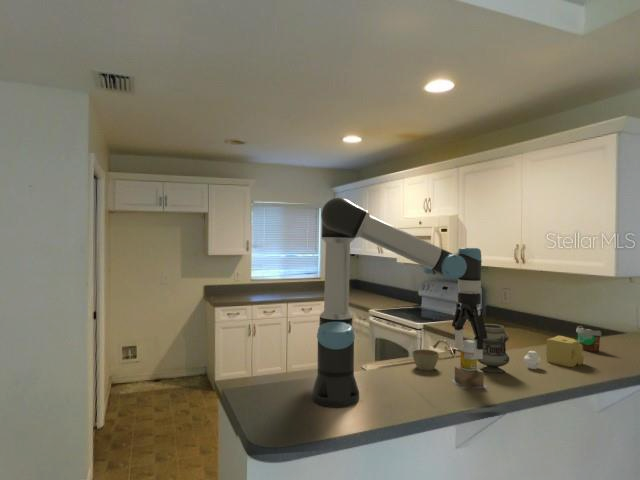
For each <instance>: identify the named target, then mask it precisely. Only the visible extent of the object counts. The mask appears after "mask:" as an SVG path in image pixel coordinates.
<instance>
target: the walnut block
mask: <svg viewBox="0 0 640 480" xmlns="http://www.w3.org/2000/svg"><path fill="white" fill-rule="evenodd" d="M454 380H455V381H456V382H457V383H459V384H460V385H462V386H463V387H483V386H484V385H485V384H484V383H485V381H484V380H485V379H484V370H481V369H480V368H478V367H477V370H476V371H465V370H463V369H461V365H459V366H458V365H456V366H454Z"/></svg>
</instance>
